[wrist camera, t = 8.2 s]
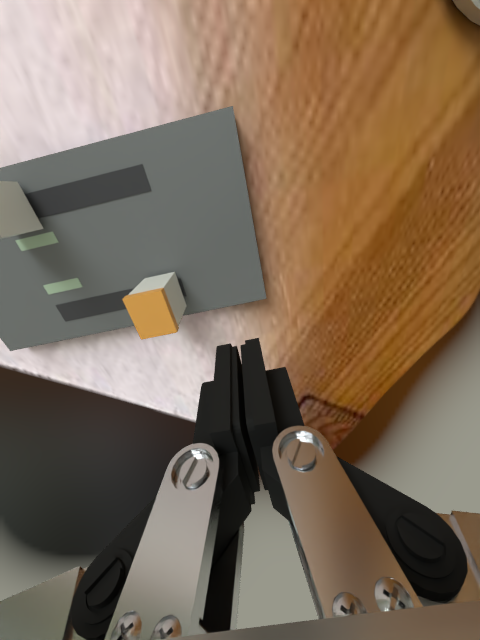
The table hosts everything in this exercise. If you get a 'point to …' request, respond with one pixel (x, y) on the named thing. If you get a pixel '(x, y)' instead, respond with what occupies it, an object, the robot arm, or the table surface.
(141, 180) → the grey slotted panel
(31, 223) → the breaker
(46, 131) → the table surface
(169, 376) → the table surface
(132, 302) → the block
